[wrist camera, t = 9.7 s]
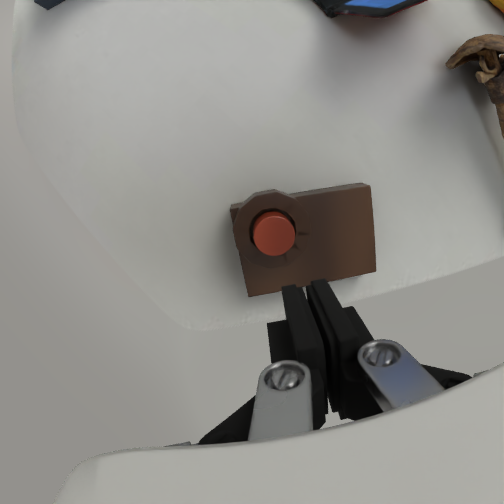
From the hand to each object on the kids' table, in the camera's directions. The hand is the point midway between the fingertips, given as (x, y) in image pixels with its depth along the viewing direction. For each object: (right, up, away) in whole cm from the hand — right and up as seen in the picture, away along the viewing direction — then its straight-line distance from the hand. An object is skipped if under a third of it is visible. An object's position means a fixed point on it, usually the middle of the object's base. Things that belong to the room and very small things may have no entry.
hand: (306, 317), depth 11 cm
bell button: (0, +4, +12) cm, 13 cm away
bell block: (+3, +4, +16) cm, 17 cm away
